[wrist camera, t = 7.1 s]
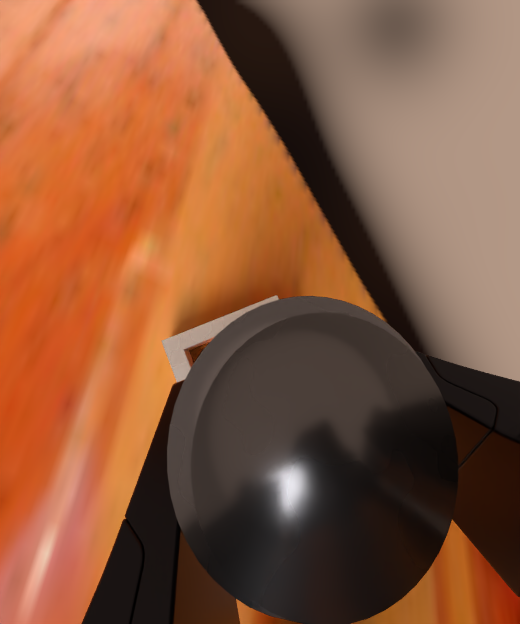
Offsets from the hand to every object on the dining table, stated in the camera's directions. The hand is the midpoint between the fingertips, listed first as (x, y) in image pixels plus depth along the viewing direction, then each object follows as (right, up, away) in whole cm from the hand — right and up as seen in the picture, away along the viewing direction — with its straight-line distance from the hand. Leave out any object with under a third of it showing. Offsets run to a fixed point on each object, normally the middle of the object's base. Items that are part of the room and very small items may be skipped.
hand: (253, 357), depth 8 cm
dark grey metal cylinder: (0, -3, +6) cm, 7 cm away
